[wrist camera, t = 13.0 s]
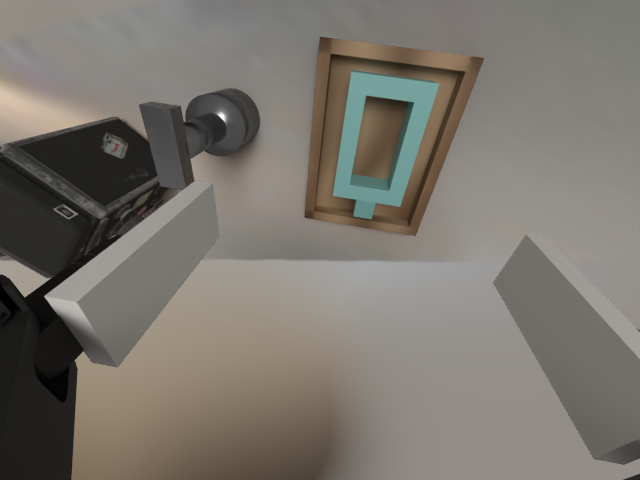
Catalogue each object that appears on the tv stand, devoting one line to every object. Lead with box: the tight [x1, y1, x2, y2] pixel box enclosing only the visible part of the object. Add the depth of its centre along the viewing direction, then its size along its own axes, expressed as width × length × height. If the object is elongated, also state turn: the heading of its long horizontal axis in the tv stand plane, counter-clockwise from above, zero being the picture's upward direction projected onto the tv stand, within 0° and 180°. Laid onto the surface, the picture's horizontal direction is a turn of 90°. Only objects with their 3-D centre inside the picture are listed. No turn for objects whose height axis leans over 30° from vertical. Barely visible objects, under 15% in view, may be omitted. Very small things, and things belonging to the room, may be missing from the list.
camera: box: [0, 117, 168, 278], centre depth 27 cm, size 10×11×15 cm
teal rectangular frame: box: [333, 70, 439, 219], centre depth 26 cm, size 13×7×3 cm, turn 174°
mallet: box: [139, 88, 260, 190], centre depth 23 cm, size 5×6×12 cm
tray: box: [305, 37, 484, 236], centre depth 27 cm, size 13×17×2 cm
